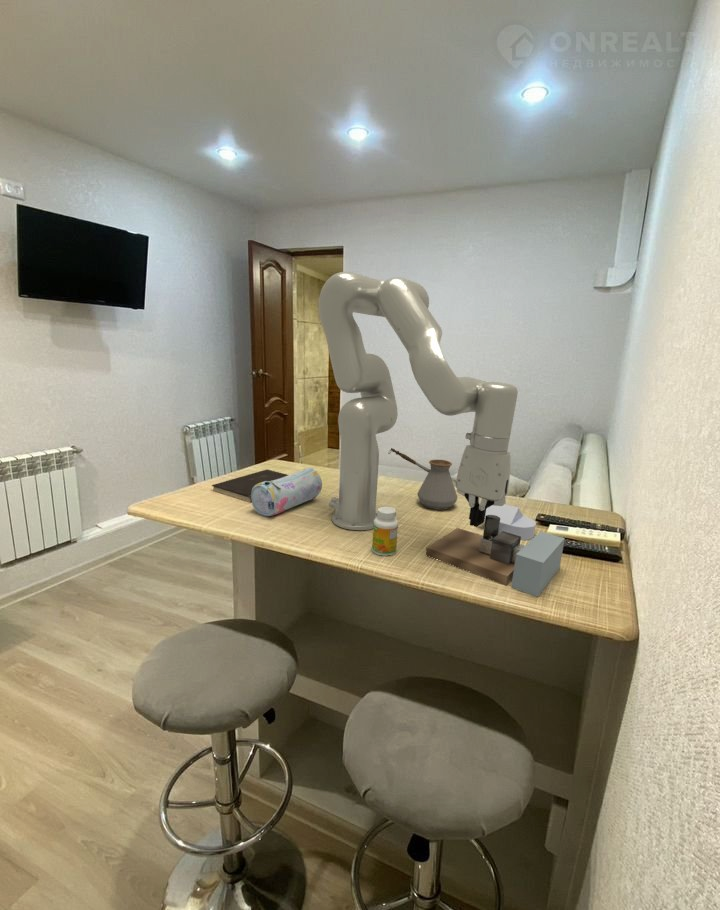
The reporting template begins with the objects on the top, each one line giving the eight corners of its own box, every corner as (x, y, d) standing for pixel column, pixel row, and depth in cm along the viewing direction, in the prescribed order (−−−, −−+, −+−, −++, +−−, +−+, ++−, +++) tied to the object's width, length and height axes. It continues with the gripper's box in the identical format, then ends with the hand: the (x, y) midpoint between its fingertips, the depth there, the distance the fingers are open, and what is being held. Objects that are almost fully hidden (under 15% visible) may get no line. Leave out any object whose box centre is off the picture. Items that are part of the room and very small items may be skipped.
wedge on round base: (476, 528, 114) (527, 543, 107) (479, 503, 113) (531, 517, 105) (489, 518, 121) (538, 532, 113) (492, 495, 120) (542, 507, 112)
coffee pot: (459, 502, 133) (465, 453, 129) (452, 515, 122) (457, 462, 119) (391, 490, 140) (395, 444, 137) (379, 501, 130) (382, 451, 126)
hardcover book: (212, 492, 132) (211, 485, 131) (267, 475, 151) (267, 469, 150) (250, 504, 124) (250, 497, 123) (303, 485, 143) (304, 478, 142)
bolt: (479, 550, 96) (483, 517, 94) (484, 546, 98) (488, 513, 96) (535, 569, 89) (541, 534, 87) (540, 564, 91) (546, 529, 89)
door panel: (425, 555, 97) (428, 528, 96) (456, 535, 109) (459, 510, 107) (506, 585, 87) (510, 554, 85) (530, 559, 98) (535, 532, 97)
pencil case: (271, 521, 112) (271, 485, 109) (247, 513, 116) (247, 478, 114) (323, 500, 129) (325, 469, 126) (301, 493, 133) (302, 463, 131)
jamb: (511, 587, 86) (516, 554, 84) (535, 560, 98) (540, 531, 96) (537, 597, 83) (543, 562, 82) (559, 568, 95) (564, 538, 93)
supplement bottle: (366, 550, 99) (369, 508, 96) (383, 543, 102) (385, 503, 100) (384, 559, 95) (387, 516, 93) (401, 551, 99) (404, 510, 96)
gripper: (448, 437, 94) (437, 518, 98) (519, 453, 85) (502, 541, 90) (464, 433, 99) (452, 510, 104) (531, 448, 91) (515, 530, 96)
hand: (475, 524), depth 97 cm, fingers closed
